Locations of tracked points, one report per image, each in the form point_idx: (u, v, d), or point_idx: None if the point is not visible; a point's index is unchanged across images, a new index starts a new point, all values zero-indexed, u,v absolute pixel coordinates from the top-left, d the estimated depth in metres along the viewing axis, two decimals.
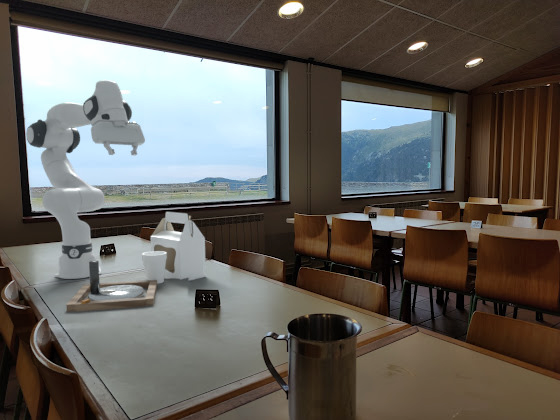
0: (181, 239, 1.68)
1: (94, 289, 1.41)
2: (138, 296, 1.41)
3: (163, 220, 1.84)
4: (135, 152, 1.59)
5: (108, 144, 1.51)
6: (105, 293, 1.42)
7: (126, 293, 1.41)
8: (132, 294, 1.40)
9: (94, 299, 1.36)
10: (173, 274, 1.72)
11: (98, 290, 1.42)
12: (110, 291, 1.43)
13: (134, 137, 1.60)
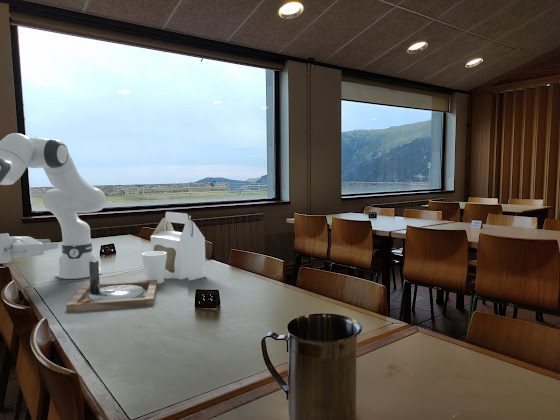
0: (181, 239, 1.68)
1: (94, 289, 1.41)
2: (138, 296, 1.41)
3: (163, 220, 1.84)
4: None
5: None
6: (105, 293, 1.42)
7: (126, 293, 1.41)
8: (132, 294, 1.40)
9: (94, 299, 1.36)
10: (173, 274, 1.72)
11: (98, 290, 1.42)
12: (110, 291, 1.43)
13: None
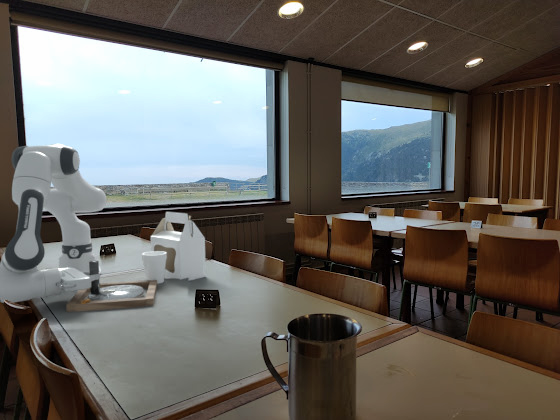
0: (181, 239, 1.68)
1: (94, 289, 1.41)
2: (138, 296, 1.41)
3: (163, 220, 1.84)
4: None
5: None
6: (105, 293, 1.42)
7: (126, 293, 1.41)
8: (132, 294, 1.40)
9: (94, 299, 1.36)
10: (173, 274, 1.72)
11: (98, 290, 1.42)
12: (110, 291, 1.43)
13: None
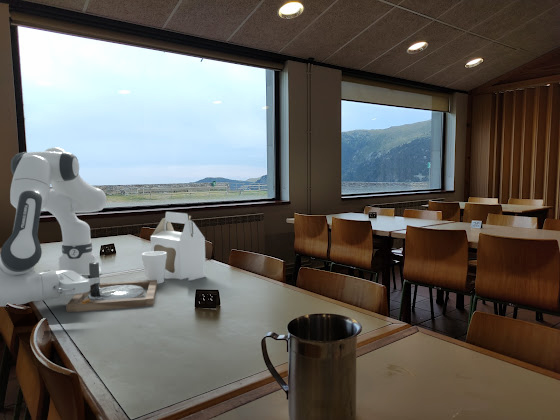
0: (181, 239, 1.68)
1: (97, 291, 1.38)
2: (143, 293, 1.46)
3: (163, 220, 1.84)
4: None
5: None
6: (108, 294, 1.40)
7: (130, 291, 1.44)
8: (138, 291, 1.44)
9: None
10: (173, 274, 1.72)
11: (99, 292, 1.40)
12: (111, 292, 1.42)
13: None
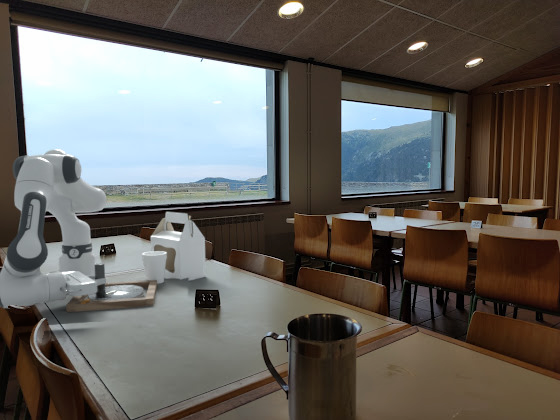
0: (181, 239, 1.68)
1: (104, 292, 1.37)
2: None
3: (163, 220, 1.84)
4: None
5: None
6: (113, 294, 1.40)
7: (131, 289, 1.46)
8: (139, 288, 1.48)
9: None
10: (173, 274, 1.72)
11: None
12: (113, 292, 1.42)
13: None
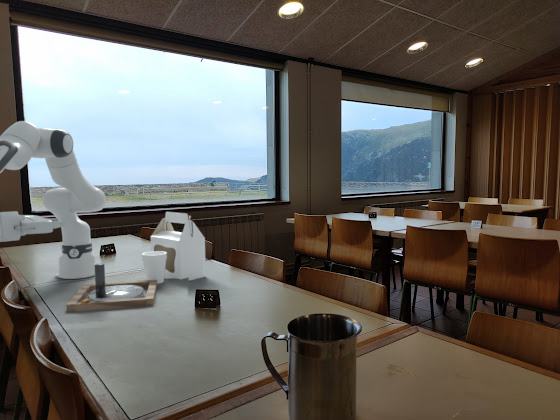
0: (181, 239, 1.68)
1: (104, 292, 1.37)
2: None
3: (163, 220, 1.84)
4: (63, 226, 1.30)
5: None
6: (113, 294, 1.40)
7: (131, 289, 1.46)
8: (139, 288, 1.48)
9: None
10: (173, 274, 1.72)
11: None
12: (113, 292, 1.42)
13: None
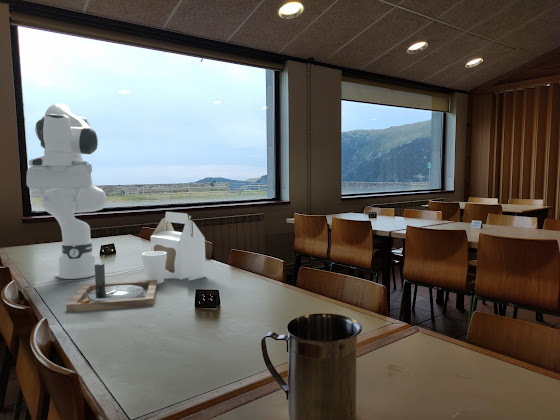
0: (181, 239, 1.68)
1: (104, 292, 1.37)
2: None
3: (163, 220, 1.84)
4: (75, 198, 1.44)
5: (41, 191, 1.41)
6: (113, 294, 1.40)
7: (131, 289, 1.46)
8: (139, 288, 1.48)
9: None
10: (173, 274, 1.72)
11: None
12: (113, 292, 1.42)
13: (75, 182, 1.43)
